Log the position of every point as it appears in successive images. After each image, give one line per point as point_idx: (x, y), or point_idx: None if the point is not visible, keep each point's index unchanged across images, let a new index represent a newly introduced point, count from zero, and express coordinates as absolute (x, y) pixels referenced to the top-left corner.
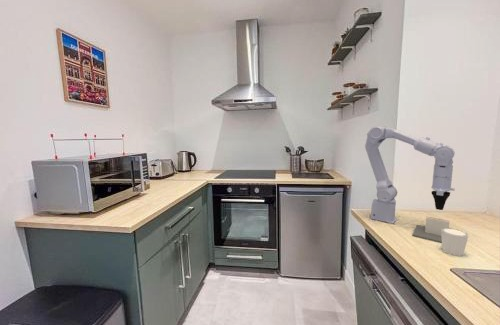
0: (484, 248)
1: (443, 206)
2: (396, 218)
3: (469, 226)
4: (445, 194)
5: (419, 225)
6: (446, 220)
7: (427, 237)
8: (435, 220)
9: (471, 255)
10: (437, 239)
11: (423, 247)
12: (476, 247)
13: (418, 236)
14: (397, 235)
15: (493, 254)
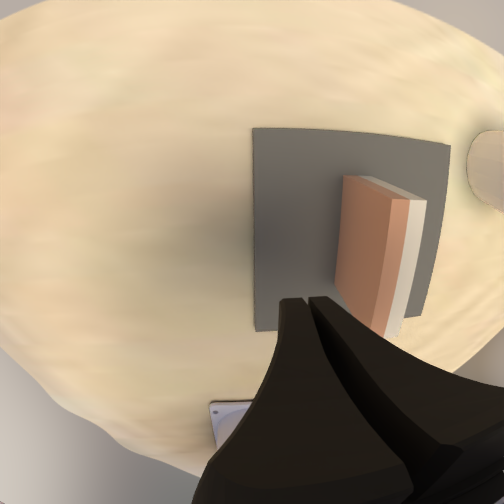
0: (384, 29)
1: (353, 318)
2: (222, 406)
3: (32, 98)
4: (497, 456)
5: (259, 320)
6: (396, 220)
7: (428, 261)
8: (406, 282)
9: (487, 106)
10: (431, 221)
11: (495, 256)
12: (398, 59)
13: (425, 292)
14: (430, 347)
15: (428, 19)
